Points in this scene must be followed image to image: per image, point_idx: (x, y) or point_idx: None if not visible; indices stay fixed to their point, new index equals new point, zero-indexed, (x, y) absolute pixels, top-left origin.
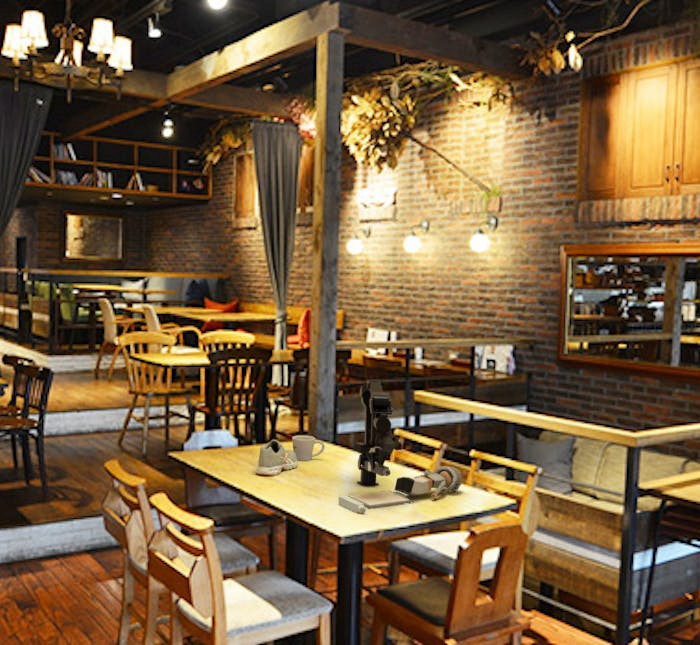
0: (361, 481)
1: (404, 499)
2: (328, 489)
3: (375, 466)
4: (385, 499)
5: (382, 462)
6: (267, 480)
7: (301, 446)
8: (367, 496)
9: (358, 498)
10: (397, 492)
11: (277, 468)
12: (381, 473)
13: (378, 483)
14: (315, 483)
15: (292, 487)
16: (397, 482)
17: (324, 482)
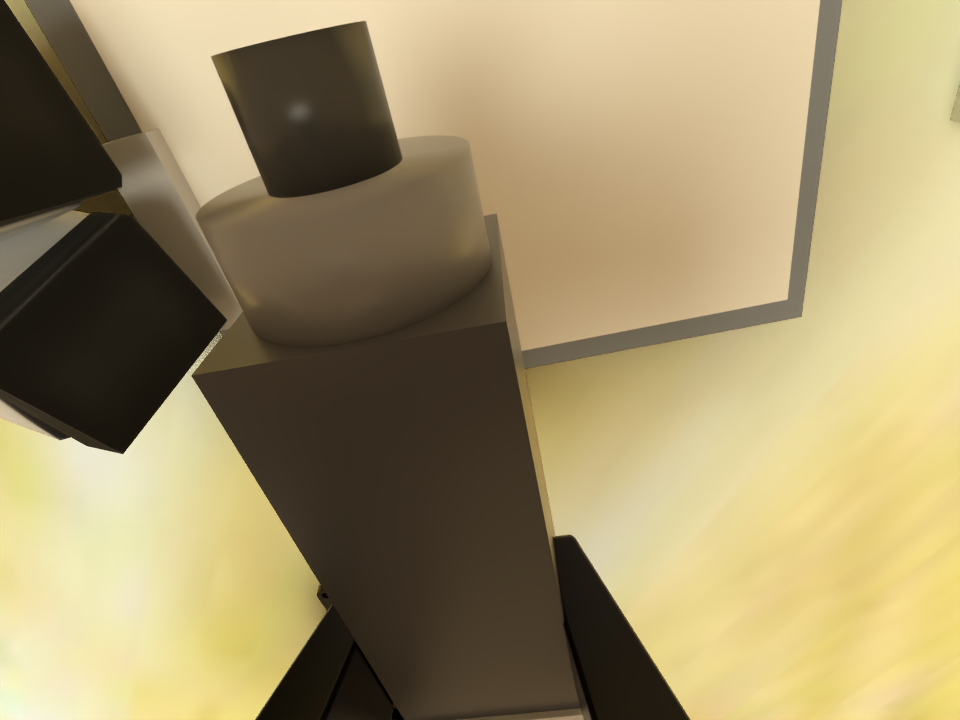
0: None
1: (141, 7)
2: (744, 550)
3: (557, 579)
4: (431, 66)
5: (324, 702)
6: (954, 708)
7: None
8: (601, 254)
9: (759, 187)
10: (202, 290)
11: None
12: (502, 256)
13: (317, 596)
14: (733, 649)
15: (945, 608)
16: (145, 381)
17: (664, 657)
